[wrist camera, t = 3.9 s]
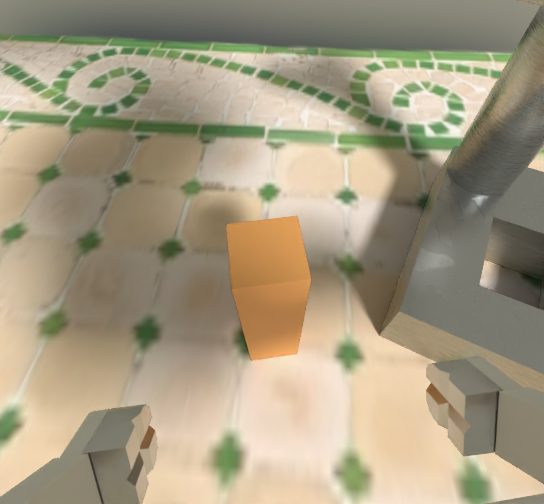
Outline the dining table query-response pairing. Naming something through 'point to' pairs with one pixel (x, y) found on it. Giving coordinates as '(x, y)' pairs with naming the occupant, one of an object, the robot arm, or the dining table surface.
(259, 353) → the orange rectangular block
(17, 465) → the dining table surface
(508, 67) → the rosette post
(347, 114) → the dining table surface
